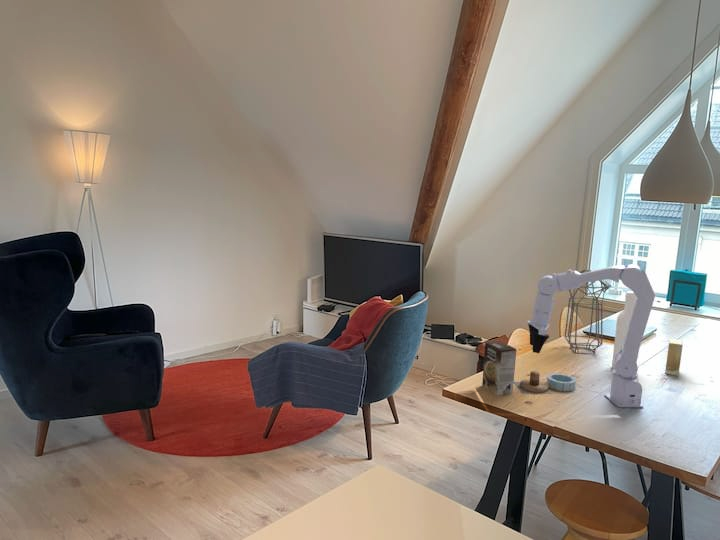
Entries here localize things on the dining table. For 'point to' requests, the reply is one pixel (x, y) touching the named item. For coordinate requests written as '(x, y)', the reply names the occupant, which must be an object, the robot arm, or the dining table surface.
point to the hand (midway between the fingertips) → (534, 348)
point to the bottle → (623, 323)
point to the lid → (534, 383)
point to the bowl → (561, 382)
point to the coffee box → (499, 367)
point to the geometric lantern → (591, 315)
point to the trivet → (528, 391)
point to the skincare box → (674, 357)
